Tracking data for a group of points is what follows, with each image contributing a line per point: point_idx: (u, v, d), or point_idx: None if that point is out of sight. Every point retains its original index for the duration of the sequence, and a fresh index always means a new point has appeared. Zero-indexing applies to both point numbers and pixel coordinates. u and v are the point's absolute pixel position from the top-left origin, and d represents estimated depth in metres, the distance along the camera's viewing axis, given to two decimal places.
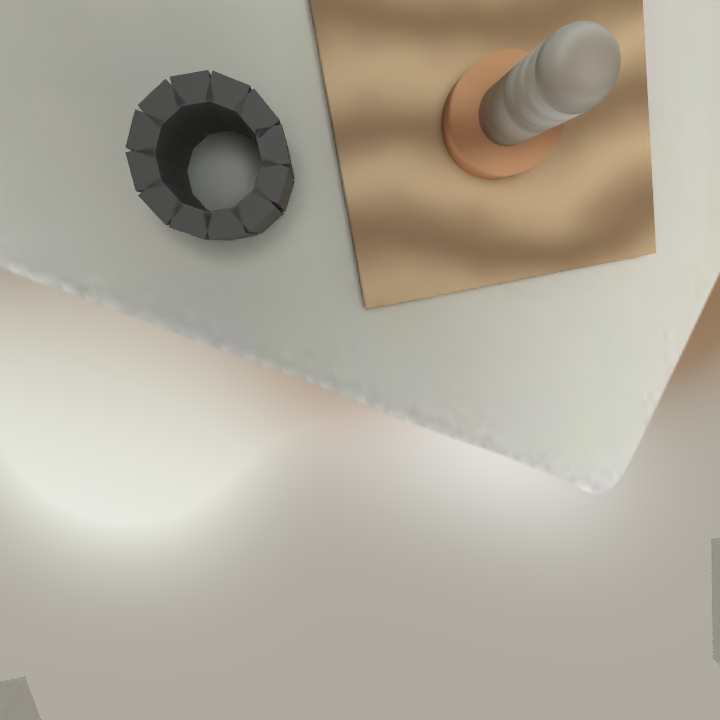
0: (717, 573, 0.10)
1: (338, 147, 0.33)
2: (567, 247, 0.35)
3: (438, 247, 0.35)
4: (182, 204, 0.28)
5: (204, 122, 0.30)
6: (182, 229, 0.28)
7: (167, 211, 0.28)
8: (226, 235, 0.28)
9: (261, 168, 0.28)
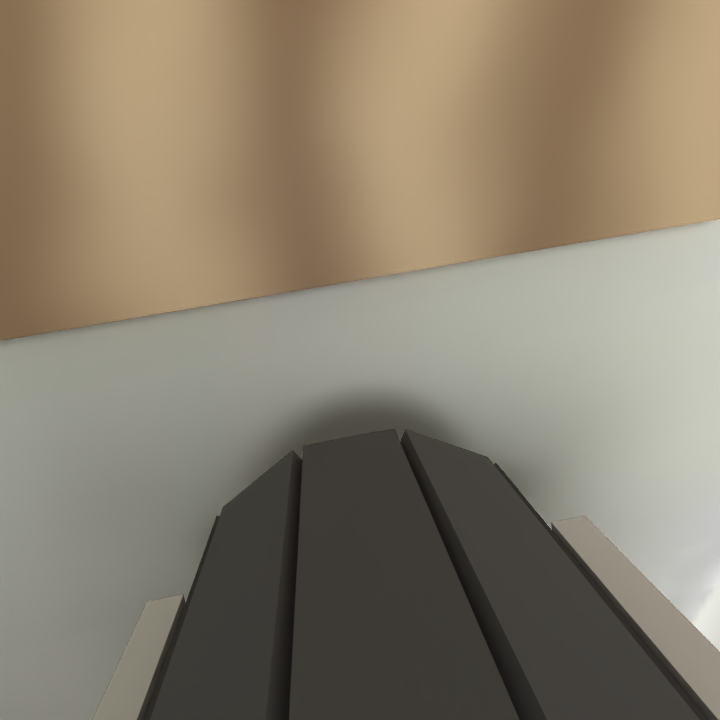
0: None
1: (339, 280, 0.13)
2: None
3: None
4: None
5: None
6: None
7: None
8: None
9: None
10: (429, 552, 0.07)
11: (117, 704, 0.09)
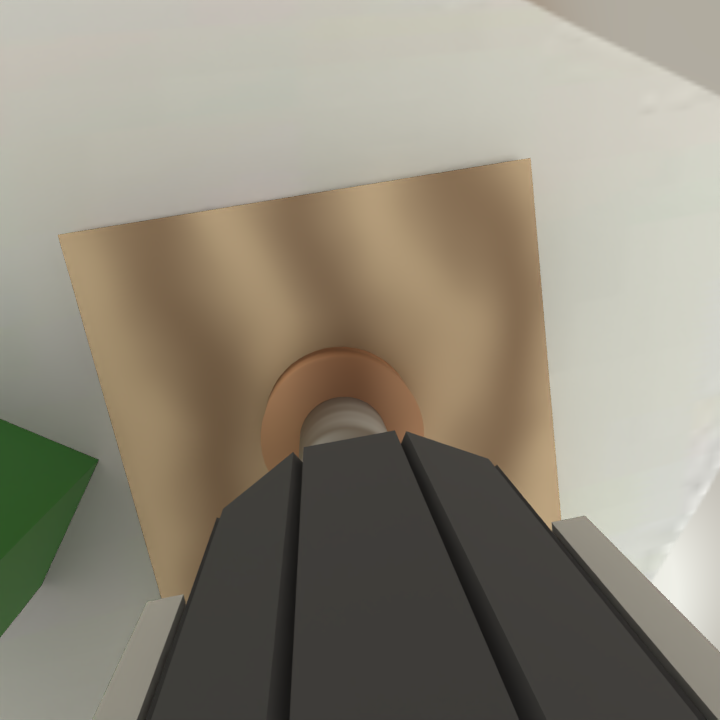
0: None
1: None
2: (510, 303, 0.24)
3: None
4: None
5: None
6: None
7: None
8: None
9: None
10: (430, 555, 0.07)
11: (117, 704, 0.09)
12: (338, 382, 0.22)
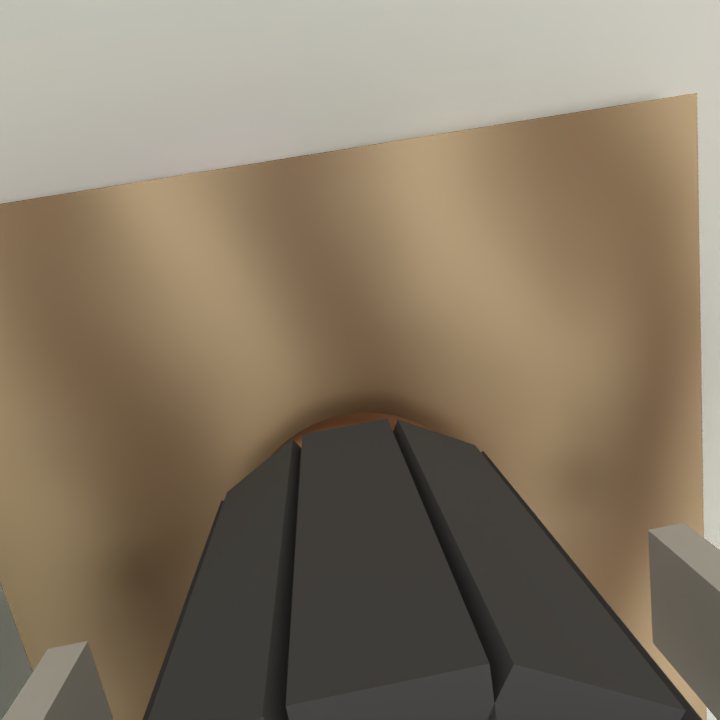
0: (653, 562, 0.11)
1: None
2: (648, 340, 0.15)
3: None
4: None
5: None
6: None
7: None
8: None
9: None
10: (414, 523, 0.07)
11: None
12: None
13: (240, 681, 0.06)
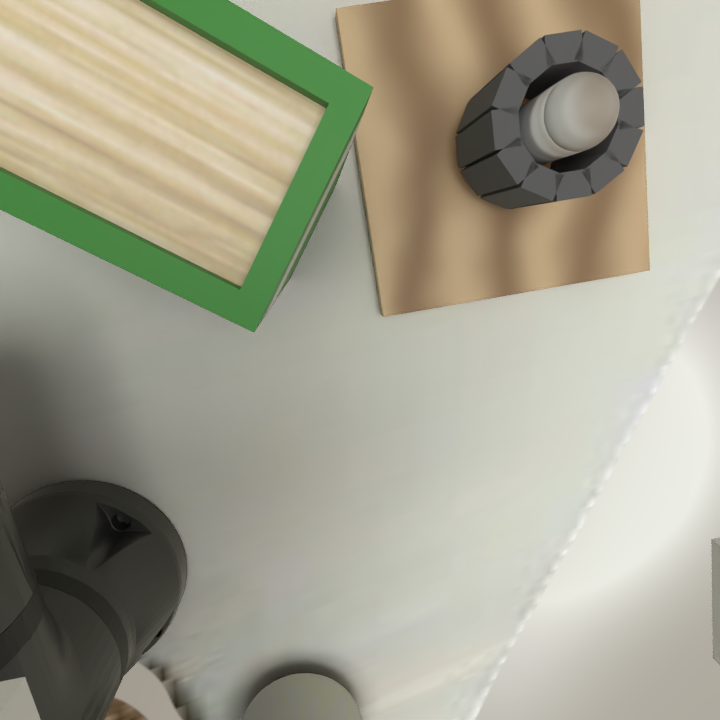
0: (717, 573, 0.10)
1: (515, 292, 0.39)
2: None
3: (605, 203, 0.38)
4: (608, 150, 0.28)
5: None
6: (631, 153, 0.28)
7: (612, 166, 0.28)
8: (642, 106, 0.27)
9: (583, 62, 0.27)
10: None
11: None
12: None
13: None
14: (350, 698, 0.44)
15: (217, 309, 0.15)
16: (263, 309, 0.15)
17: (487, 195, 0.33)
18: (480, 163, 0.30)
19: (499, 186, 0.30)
